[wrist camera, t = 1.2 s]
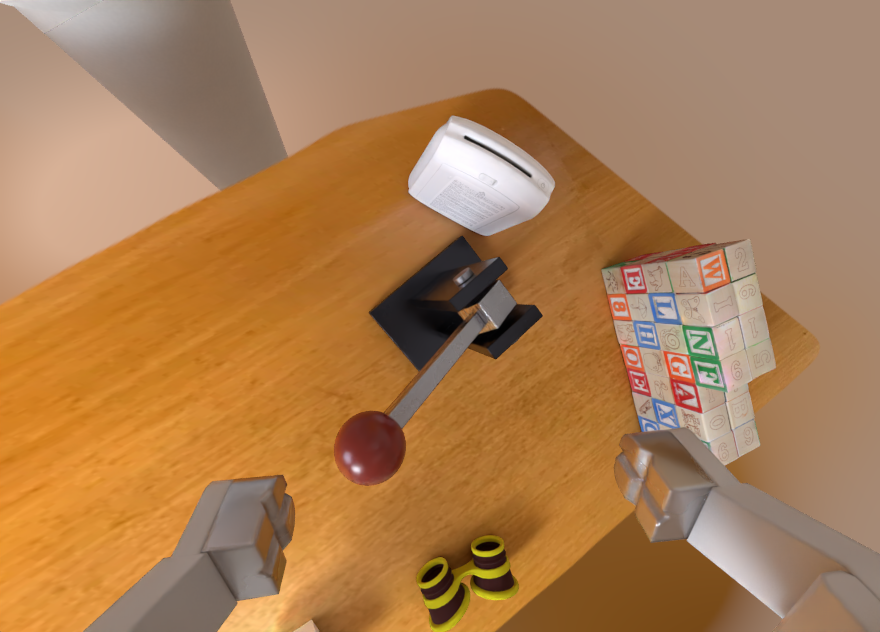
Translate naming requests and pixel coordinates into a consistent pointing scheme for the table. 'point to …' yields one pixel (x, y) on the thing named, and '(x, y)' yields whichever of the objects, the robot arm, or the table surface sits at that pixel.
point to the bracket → (447, 306)
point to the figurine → (308, 627)
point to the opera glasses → (448, 591)
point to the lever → (413, 396)
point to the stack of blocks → (693, 341)
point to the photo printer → (479, 178)
